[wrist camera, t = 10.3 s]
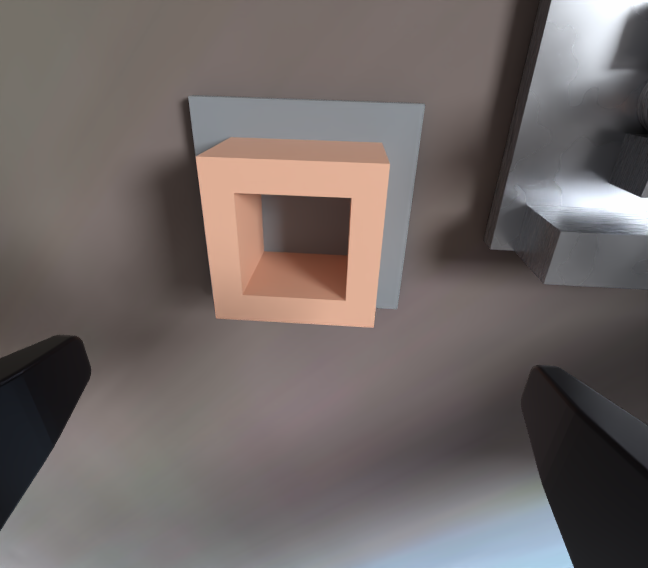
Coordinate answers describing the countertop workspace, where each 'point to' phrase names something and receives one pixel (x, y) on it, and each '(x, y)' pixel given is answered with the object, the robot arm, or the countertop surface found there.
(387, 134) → the mat
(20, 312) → the countertop surface
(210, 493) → the countertop surface
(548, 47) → the grey plate with rod
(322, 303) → the collar
